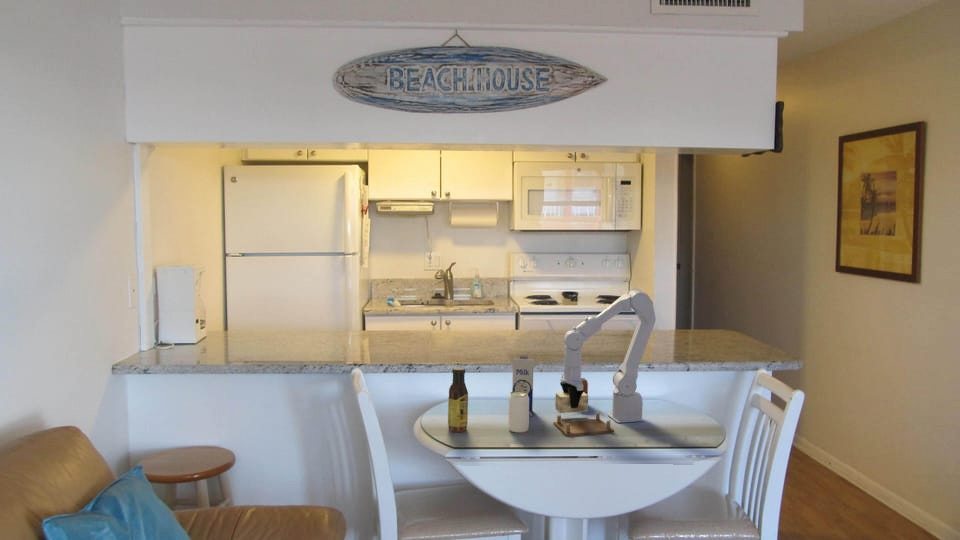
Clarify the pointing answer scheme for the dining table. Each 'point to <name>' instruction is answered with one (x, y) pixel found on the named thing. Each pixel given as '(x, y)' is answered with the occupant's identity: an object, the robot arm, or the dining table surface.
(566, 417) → the dining table surface
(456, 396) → the sauce bottle
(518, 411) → the can
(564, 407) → the block
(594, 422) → the chassis
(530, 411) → the milk carton
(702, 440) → the dining table surface
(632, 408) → the robot arm
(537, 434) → the dining table surface
